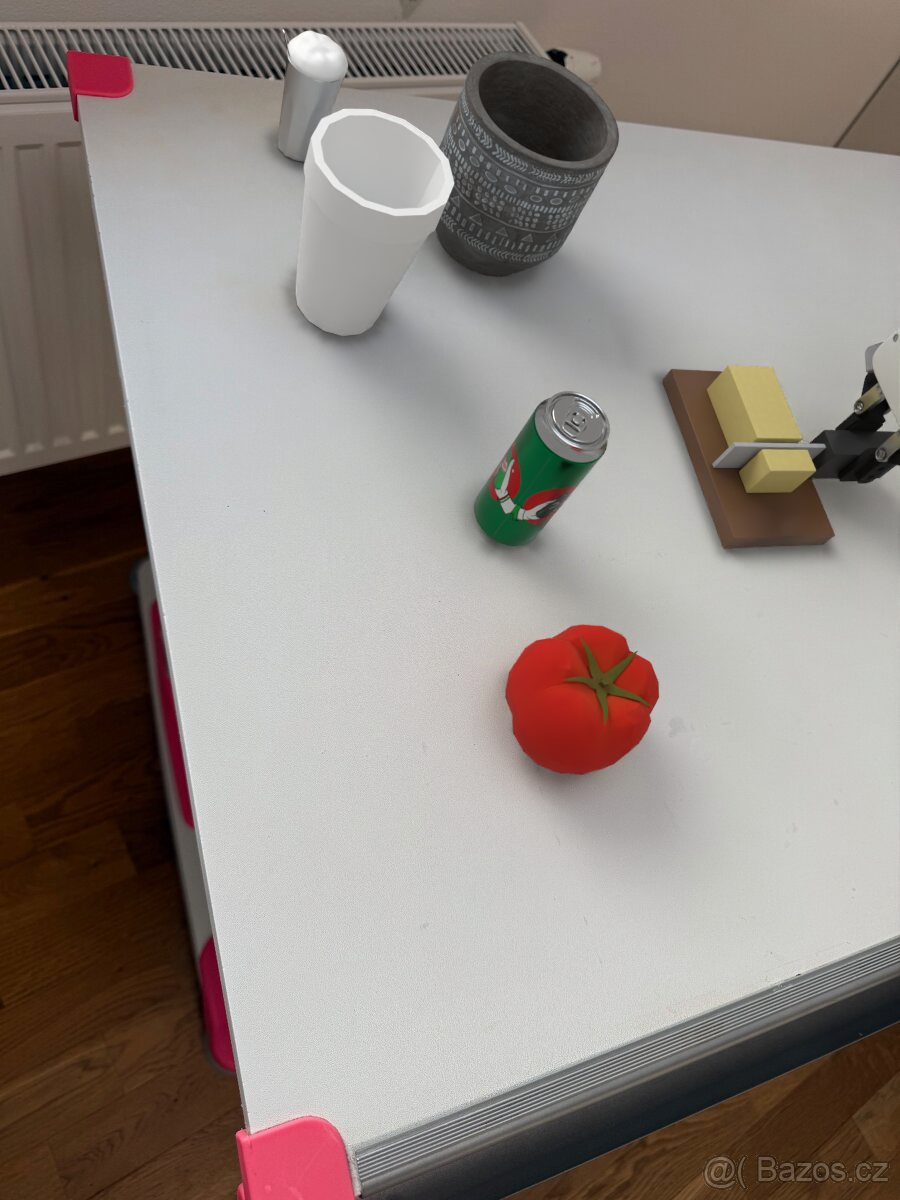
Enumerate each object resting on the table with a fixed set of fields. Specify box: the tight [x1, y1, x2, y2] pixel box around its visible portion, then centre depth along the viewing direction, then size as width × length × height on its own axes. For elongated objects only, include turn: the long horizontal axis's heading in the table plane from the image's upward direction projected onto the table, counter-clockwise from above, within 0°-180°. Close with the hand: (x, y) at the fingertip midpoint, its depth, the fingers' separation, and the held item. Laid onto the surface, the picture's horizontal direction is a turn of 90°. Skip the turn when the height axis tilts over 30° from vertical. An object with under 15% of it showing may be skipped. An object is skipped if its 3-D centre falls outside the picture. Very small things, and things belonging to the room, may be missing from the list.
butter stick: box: [707, 364, 804, 447], centre depth 78 cm, size 4×7×3 cm, turn 13°
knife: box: [712, 429, 897, 480], centre depth 78 cm, size 17×2×4 cm, turn 103°
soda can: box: [473, 390, 611, 547], centre depth 64 cm, size 5×5×12 cm
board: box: [661, 368, 836, 549], centre depth 79 cm, size 10×16×2 cm, turn 13°
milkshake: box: [277, 29, 349, 162], centre depth 74 cm, size 4×5×10 cm
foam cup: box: [295, 108, 454, 337], centre depth 67 cm, size 10×9×13 cm
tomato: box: [504, 623, 660, 776], centre depth 60 cm, size 9×9×8 cm
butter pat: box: [739, 449, 816, 493], centre depth 76 cm, size 4×2×3 cm, turn 103°
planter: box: [435, 50, 620, 278], centre depth 76 cm, size 12×12×13 cm
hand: (845, 461), depth 80 cm, fingers closed on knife, 2 cm apart
